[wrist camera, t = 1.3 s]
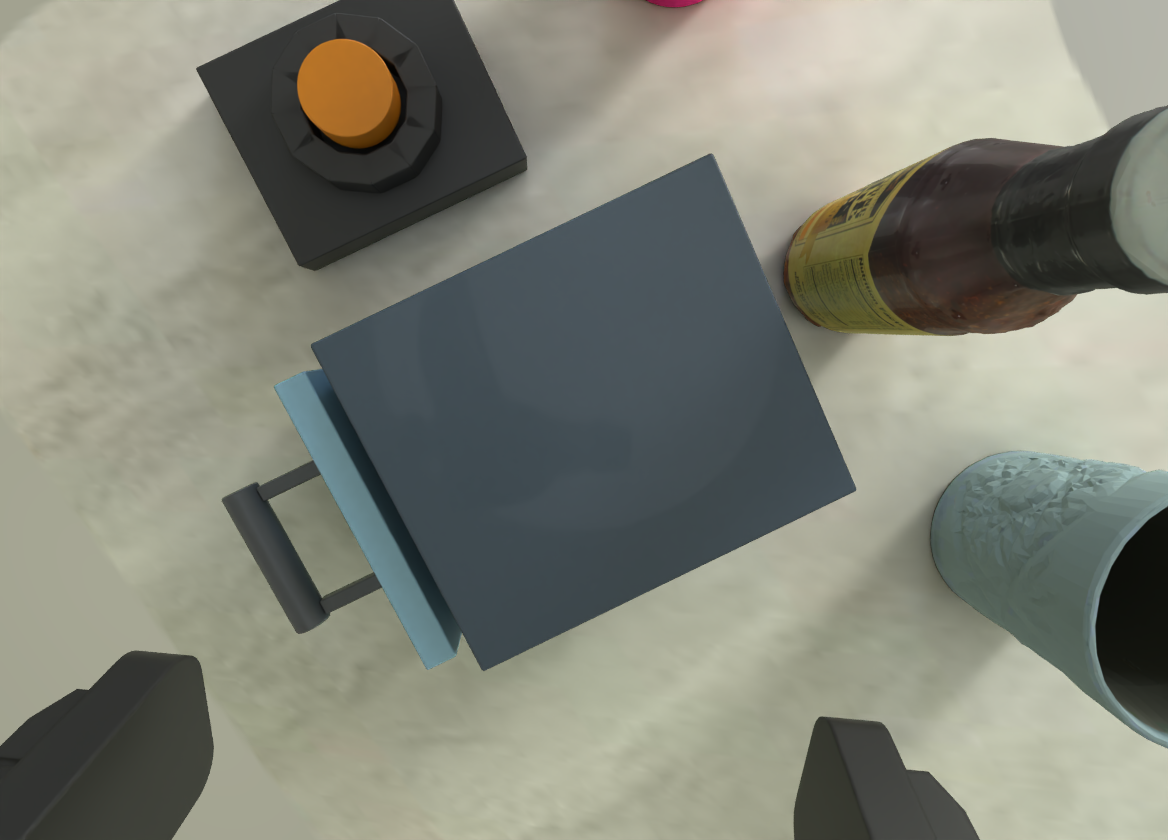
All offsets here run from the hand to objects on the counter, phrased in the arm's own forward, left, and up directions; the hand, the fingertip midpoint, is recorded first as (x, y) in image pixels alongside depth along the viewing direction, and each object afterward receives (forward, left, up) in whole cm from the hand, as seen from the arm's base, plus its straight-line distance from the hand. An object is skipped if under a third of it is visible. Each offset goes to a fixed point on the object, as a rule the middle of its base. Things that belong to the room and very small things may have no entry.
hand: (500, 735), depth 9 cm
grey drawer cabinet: (-1, +3, -25) cm, 26 cm away
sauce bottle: (-1, +17, -26) cm, 31 cm away
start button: (-16, 0, -22) cm, 27 cm away
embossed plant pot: (+15, +20, -26) cm, 36 cm away
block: (-16, 0, -25) cm, 30 cm away
